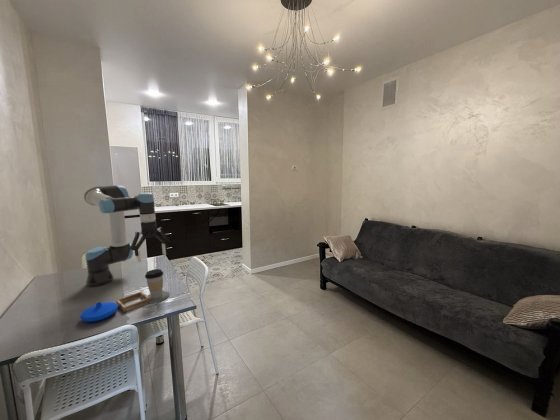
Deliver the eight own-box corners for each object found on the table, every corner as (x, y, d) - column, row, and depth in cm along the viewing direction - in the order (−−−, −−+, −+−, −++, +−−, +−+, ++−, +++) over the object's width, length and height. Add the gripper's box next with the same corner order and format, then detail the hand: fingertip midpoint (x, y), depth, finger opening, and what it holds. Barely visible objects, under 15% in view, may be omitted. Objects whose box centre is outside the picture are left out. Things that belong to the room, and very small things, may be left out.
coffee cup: (158, 301, 138) (155, 275, 136) (143, 299, 140) (140, 274, 138) (169, 292, 147) (166, 269, 145) (155, 291, 149) (152, 268, 147)
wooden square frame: (116, 304, 138) (116, 300, 137) (141, 295, 147) (141, 291, 147) (124, 312, 129) (124, 307, 129) (150, 302, 139) (150, 298, 138)
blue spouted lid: (99, 307, 135) (97, 295, 134) (125, 308, 134) (124, 296, 132) (72, 325, 120) (69, 311, 119) (101, 326, 118) (99, 312, 117)
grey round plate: (140, 298, 143) (140, 297, 143) (163, 290, 153) (163, 289, 153) (149, 306, 135) (149, 304, 135) (173, 296, 144) (173, 295, 144)
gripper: (125, 226, 125) (130, 266, 129) (173, 218, 144) (176, 253, 147) (120, 224, 130) (125, 262, 134) (167, 216, 149) (170, 250, 152)
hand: (152, 257), depth 140 cm, fingers open, 13 cm apart
